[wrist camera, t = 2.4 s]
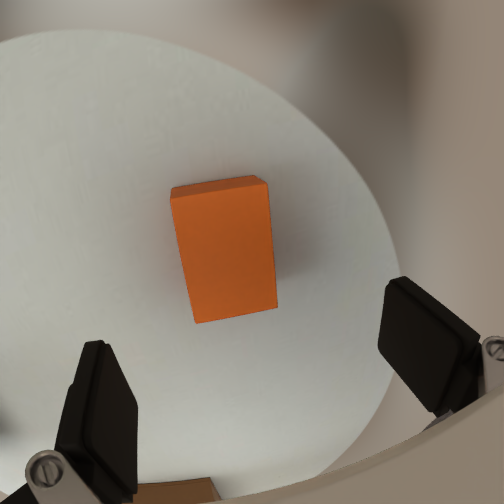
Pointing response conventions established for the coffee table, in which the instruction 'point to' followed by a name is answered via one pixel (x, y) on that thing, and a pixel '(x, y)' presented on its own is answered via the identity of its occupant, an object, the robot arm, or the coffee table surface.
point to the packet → (226, 246)
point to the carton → (177, 492)
